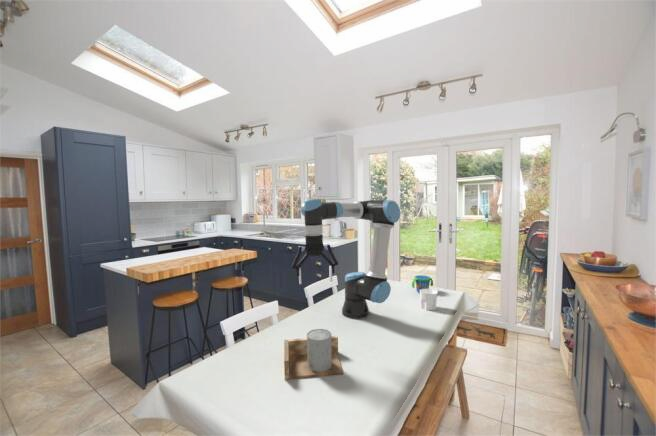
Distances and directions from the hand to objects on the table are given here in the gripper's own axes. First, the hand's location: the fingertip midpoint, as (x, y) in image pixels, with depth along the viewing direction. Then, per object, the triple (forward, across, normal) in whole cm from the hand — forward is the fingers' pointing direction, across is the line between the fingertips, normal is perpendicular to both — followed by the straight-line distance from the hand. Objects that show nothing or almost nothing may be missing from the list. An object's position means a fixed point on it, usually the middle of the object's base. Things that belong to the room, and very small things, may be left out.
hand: (315, 282), depth 136 cm
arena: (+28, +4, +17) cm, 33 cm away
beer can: (+28, +2, +18) cm, 33 cm away
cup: (+31, -70, -31) cm, 82 cm away
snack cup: (+32, -80, -60) cm, 105 cm away
